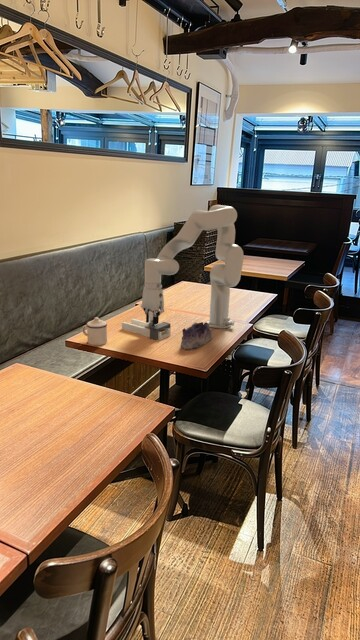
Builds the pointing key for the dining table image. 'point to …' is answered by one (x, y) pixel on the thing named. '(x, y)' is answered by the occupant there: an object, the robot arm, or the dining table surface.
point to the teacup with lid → (96, 332)
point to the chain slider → (150, 323)
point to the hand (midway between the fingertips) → (152, 322)
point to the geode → (196, 336)
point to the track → (153, 332)
